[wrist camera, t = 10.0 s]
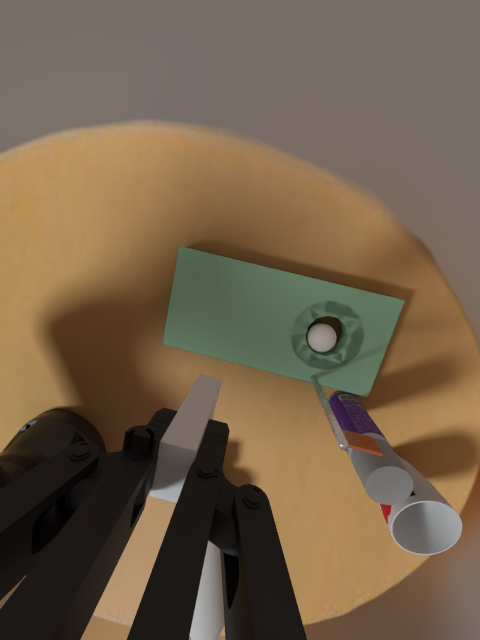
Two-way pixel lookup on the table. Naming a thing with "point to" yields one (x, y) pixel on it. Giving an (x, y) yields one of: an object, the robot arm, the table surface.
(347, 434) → the flag pin
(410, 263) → the table surface
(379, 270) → the table surface
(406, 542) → the cup
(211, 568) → the bottle
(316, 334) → the ball
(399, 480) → the container
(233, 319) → the green
